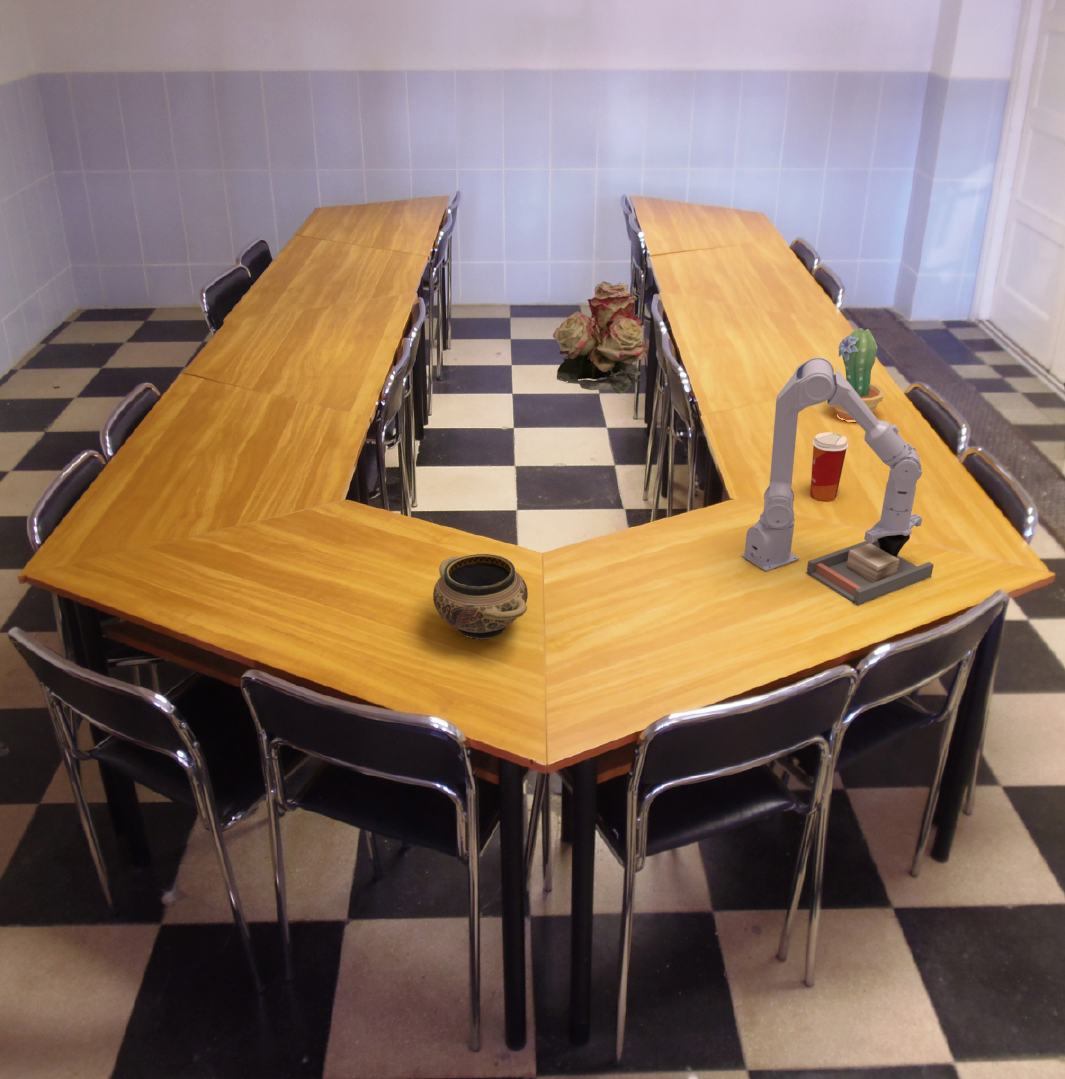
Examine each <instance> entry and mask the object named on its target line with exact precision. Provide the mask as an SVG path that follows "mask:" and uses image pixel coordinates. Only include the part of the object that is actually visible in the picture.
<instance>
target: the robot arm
mask: <svg viewBox="0 0 1065 1079" xmlns="http://www.w3.org/2000/svg"><path fill="white" fill-rule="evenodd" d="M834 369H835V371H834ZM826 401H827V405H828V406H833V405H840V406H842V407H843V408H844V409H845V410H846V411H847V413H848V414H849V415H850V416H851V417H852V418H853V419H854V420H855V421H856V422H857V423H856V424H858V425H859V426H860V427H861V429H862V430H863V431H864V432H865V434H864V438H863V439H864V442H865V443H866V444H867V445H868V446H869V447H870V449H871V450H872V451H873V452H874V453H875V455H876V456H877V457H878V458H879V459H880V461H881V462H882V463H883V464H885V465H886V466H888V467H889V469H890V470H889V474H888V480H887V482H886V485H885V490H884V498H883V502H882V507H881V514H880V519H879V521H877V522H876V523H875V524H874V525H873V526H872V527H871V528H870V529H868V530H865V531H864V532H865V533H864V538H863V539H864V541H868V542H870V543H873V542H875V540H876V539H877V540H878V543H879V546H880V549H882V550H883V551H885V552H887V553H889V554H891V555H892V556H894V557H897V555H898V556H899V553H900V551H901V550H902V548H903V547H904V546H905V544H906V543H907V542H908V541H910V537H911V535H912V533H913V530H912V529H913V528H914V527H920V526H922V521H923V516H920V515H918V514H917V513H914V514H912V512H913V506H914V502H915V497H916V496H915V495H916V490H917V483H918V481H919V480H920V478H921V477H922V475H923V471H922V464H921V461H920V459H921V458H920V456H919V454H918V452H917V450H916V448H915V447H914V446H913V445H912V444H911V443H907V442H906V440H904V438H903V437H902V436H901V434H899V431H900V430H899V428H898V426H897V425H896V424H895V423H893V424H891V423H890V422H889V421H888V420H887V421H886V420H879V419H878V418H877V416H876V415H875V414H874V412H871V410H870V409H869V408H868V406H867V405H866V404H865V403H864V401H863V400H862V399H861V398H860V396H859V395H858V394H857V392H856V391H855V390H854V389H853V387H852V386H851V385H850V383H849V382H848V381H847V380H846V376H844V375H843V374H842V373H841V372H840V371H839V370H838V369H837V368H834V367H833V365H832V363H831V362H830V361H829V360H828V359H826V358H824V357H819V356H817V357H812V358H810V359H808V360H806V361H804V362H803V363H801V364H800V365H798V366H797V368H795V371H794V372H793V374H792V376H790V378H789V380H788V381H787V382H786V383H785V385H784V386H783V387H782V389H781V390H780V391H779V393H778V394H777V395H776V398H775V412H774V422H773V423H774V424H773V438H772V450H771V463H770V474H769V475H770V476H769V484H768V486H767V488H766V489H765V492H764V494H763V500H764V501H763V511H762V513H761V514H760V515H759V520H758V521H757V522H756V523H755V524H753V525H752V526H751V527H749V528H747V531H746V535H745V536H746V537H745V546H744V552H743V553H741V557H743V558H745V559H746V560H747V561H749V562H750V563H752V564H754V566H757V567H758V568H760V569H761V570H763V571H765V572H767V571H771V570H773V569H776V568H779V567H782V566H785V565H788V564H791V563H793V562H796V561H799V559H800V558H799V557H798V556H797V555H796V554H794V553H792V543H793V537H794V528H795V511H794V501H795V494H794V493H795V492H794V491H793V488H792V484H793V474H794V465H795V463H794V461H795V451H796V440H797V428H798V420H799V418H798V416H799V413H800V412H802V411H803V410H805V409H807V408H808V407H811V406H815V405H819V404H822V403H824V402H826Z"/></svg>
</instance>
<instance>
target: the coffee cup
mask: <svg viewBox="0 0 1065 1079" xmlns="http://www.w3.org/2000/svg"><path fill="white" fill-rule="evenodd" d="M811 442H812V446H813V447H812V448H813V449H812V459H811V460H812V462H811V476H810V477H811V478H810V479H811V480H810V496H811V498H812V499H813V500H815V501H819V502H831V501H834V500H836V498H837V496H838V490H839V486H840V481H841V476H842V473H843V466H844V464H845V463H844V462H845V458H846V452H847V449H848V448H849V443H848V439H847V437H846V436H845V435H841V434H838V433H835V432H826V431H825V432H820V433H818V434H816V435H815V436H814V439H813V440H812V441H811Z"/></svg>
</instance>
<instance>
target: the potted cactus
mask: <svg viewBox="0 0 1065 1079" xmlns="http://www.w3.org/2000/svg"><path fill="white" fill-rule="evenodd" d="M878 348H879V347H878V345H877V341H876V339H875V338H874V335H873V334H872V332H871V331H870V329H869V328H867V329H864V328H862V327H860V328H859V329H857V328H856V329H854V330H853V331H852V332H851V333H850V334H848V335H847V336H846V337H844V338H842V339H841V341H840V342H839V344H838V357H839V358H840V357H841V356H842V357H841V358H842V361H843V364H844V368H845V379H846V380H847V381H848V382H849V383H850V385H851V386H852V387H853V389H854V390H855V391H856V392H857V394H858V395H859V396H860V398H861V399H862V400H863V401H864V403H865V404H866V405H867V406H868V408H869V409H870V410H871V412H872V413H874V411H875V410H876V408H877V406H878V405H879V403H880V402H882V401H883V398H884V397H885V395H886V390H885V389H883V388H882V387H881V386H880V385H877V384H873V383H871V379H872V378H871V376H872V369H873V367H874V365H875V362H876V358H877V355H878V354H877V353H878V350H879V349H878ZM832 406H833V408H834V410H835V411H836V415H837V414H838V416H839V417H840V418H843V419H845V420H854V419H853V418H852V417H851V416H850V415H849V414H848V413H847V411H846V410H845V409H844V408H843V407H842V406H840V405H832Z"/></svg>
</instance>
